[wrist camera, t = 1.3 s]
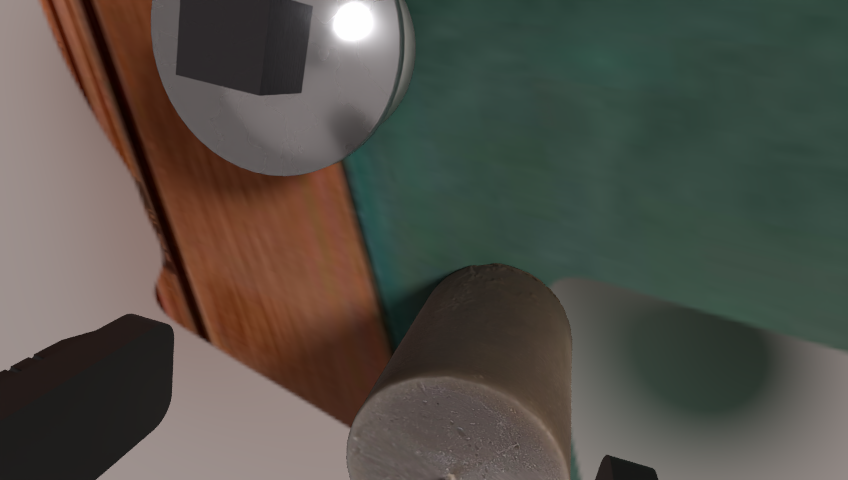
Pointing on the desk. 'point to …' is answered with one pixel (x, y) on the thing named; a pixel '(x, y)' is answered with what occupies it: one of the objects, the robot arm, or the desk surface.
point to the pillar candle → (473, 387)
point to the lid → (280, 76)
